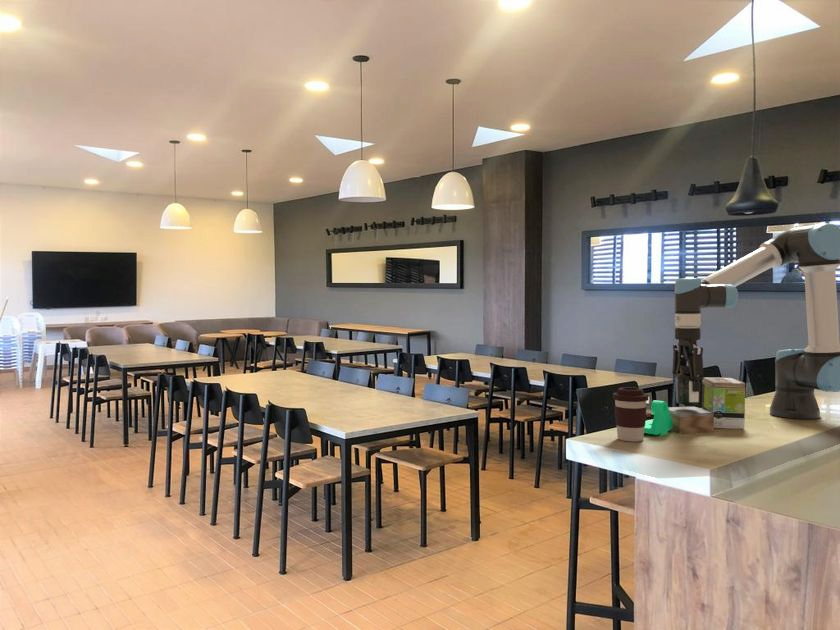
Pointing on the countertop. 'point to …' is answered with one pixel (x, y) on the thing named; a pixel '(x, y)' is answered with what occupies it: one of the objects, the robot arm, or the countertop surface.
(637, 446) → the countertop surface
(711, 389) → the tea box
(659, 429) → the camera mount
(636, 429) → the coffee cup
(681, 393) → the supplement bottle
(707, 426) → the walnut stand
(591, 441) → the countertop surface
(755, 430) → the countertop surface
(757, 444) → the countertop surface
